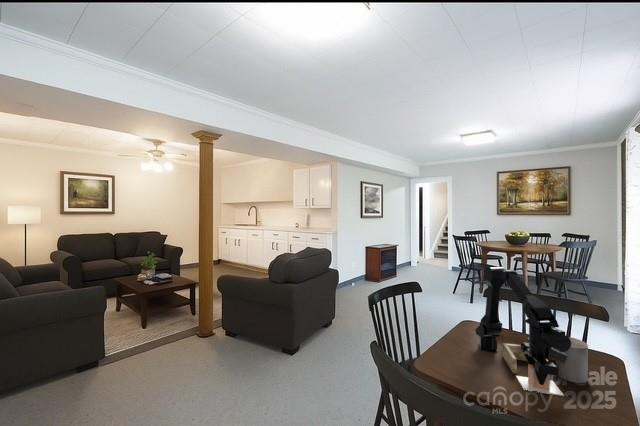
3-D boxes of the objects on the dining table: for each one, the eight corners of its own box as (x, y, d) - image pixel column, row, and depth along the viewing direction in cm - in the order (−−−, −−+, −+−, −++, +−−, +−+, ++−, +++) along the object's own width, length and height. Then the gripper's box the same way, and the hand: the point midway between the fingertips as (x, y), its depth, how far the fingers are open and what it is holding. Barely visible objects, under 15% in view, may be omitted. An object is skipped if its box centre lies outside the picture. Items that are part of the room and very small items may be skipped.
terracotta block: (533, 387, 108) (533, 371, 108) (528, 379, 113) (528, 364, 113) (549, 389, 107) (549, 373, 106) (543, 381, 111) (543, 366, 111)
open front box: (513, 373, 118) (513, 358, 118) (503, 356, 131) (503, 343, 131) (550, 378, 114) (549, 362, 114) (535, 360, 128) (535, 346, 127)
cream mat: (524, 390, 107) (524, 389, 107) (515, 376, 116) (515, 375, 116) (564, 396, 104) (564, 395, 104) (552, 381, 112) (552, 380, 112)
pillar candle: (552, 367, 122) (552, 331, 122) (583, 372, 118) (583, 335, 117) (558, 379, 113) (558, 341, 113) (592, 386, 109) (592, 346, 109)
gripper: (578, 353, 98) (578, 400, 98) (552, 331, 116) (552, 370, 116) (539, 349, 101) (539, 394, 102) (520, 328, 119) (520, 366, 119)
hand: (538, 380), depth 110 cm, fingers closed on terracotta block, 5 cm apart
